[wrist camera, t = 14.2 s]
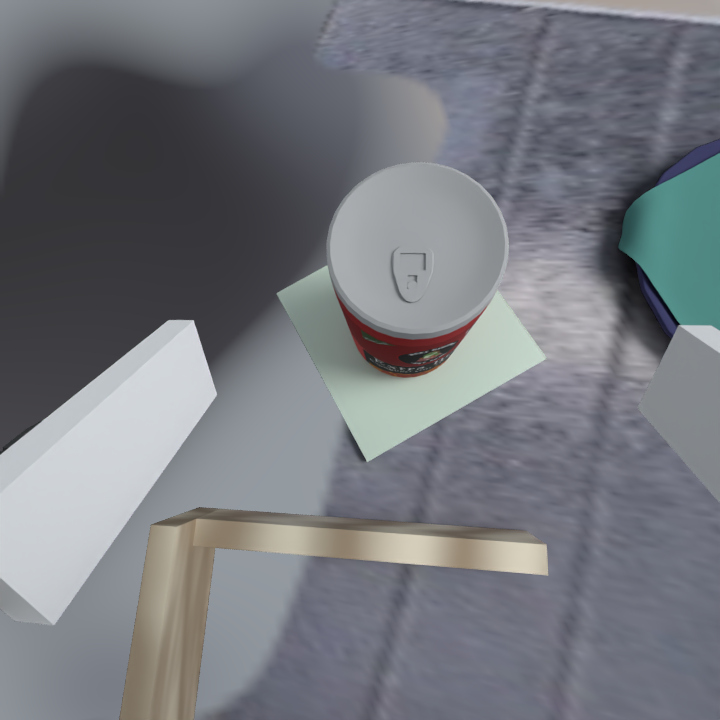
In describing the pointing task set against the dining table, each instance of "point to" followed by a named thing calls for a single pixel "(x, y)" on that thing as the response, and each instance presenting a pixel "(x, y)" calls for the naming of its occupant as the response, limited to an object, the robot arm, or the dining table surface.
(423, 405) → the pad
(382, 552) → the shelf lane
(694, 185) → the cutlery set
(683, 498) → the dining table surface
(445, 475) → the dining table surface
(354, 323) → the canned food
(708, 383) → the robot arm
